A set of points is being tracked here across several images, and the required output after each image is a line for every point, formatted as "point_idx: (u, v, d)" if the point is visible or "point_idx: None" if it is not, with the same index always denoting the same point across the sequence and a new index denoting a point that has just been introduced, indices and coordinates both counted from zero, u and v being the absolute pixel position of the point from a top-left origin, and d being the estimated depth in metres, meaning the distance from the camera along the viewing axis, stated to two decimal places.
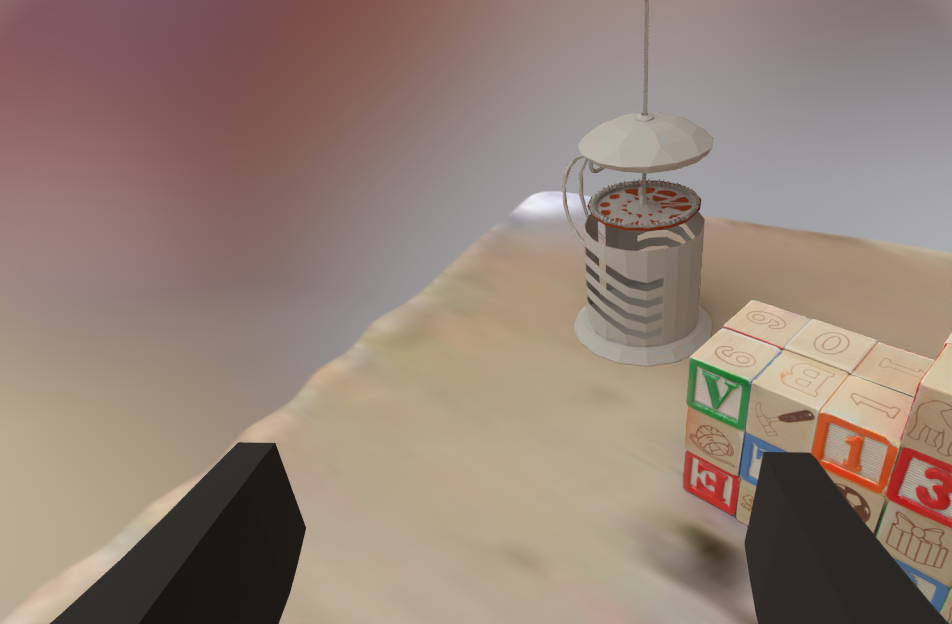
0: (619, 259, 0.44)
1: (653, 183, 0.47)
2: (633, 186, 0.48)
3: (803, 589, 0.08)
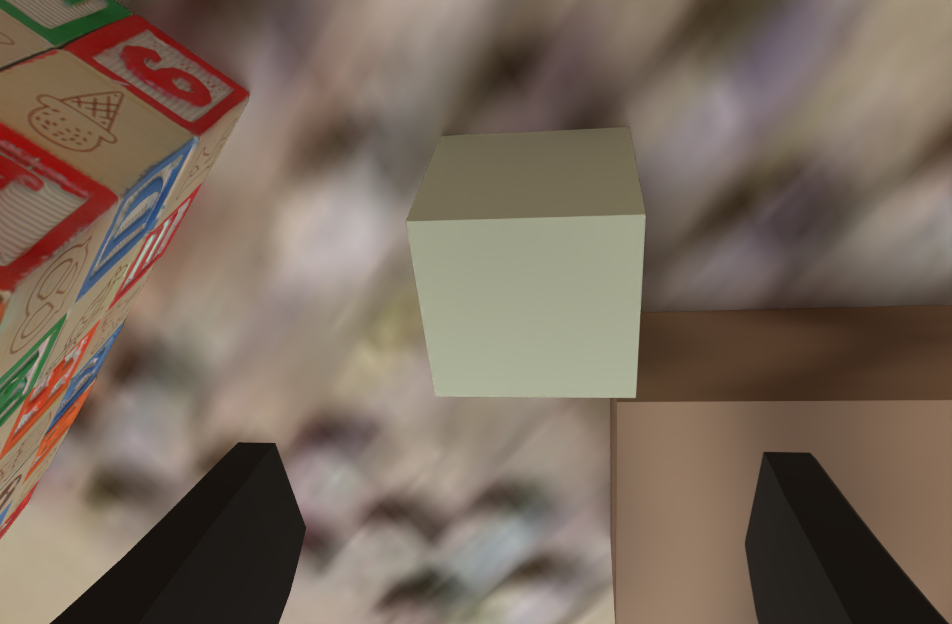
0: None
1: None
2: None
3: (803, 588, 0.08)
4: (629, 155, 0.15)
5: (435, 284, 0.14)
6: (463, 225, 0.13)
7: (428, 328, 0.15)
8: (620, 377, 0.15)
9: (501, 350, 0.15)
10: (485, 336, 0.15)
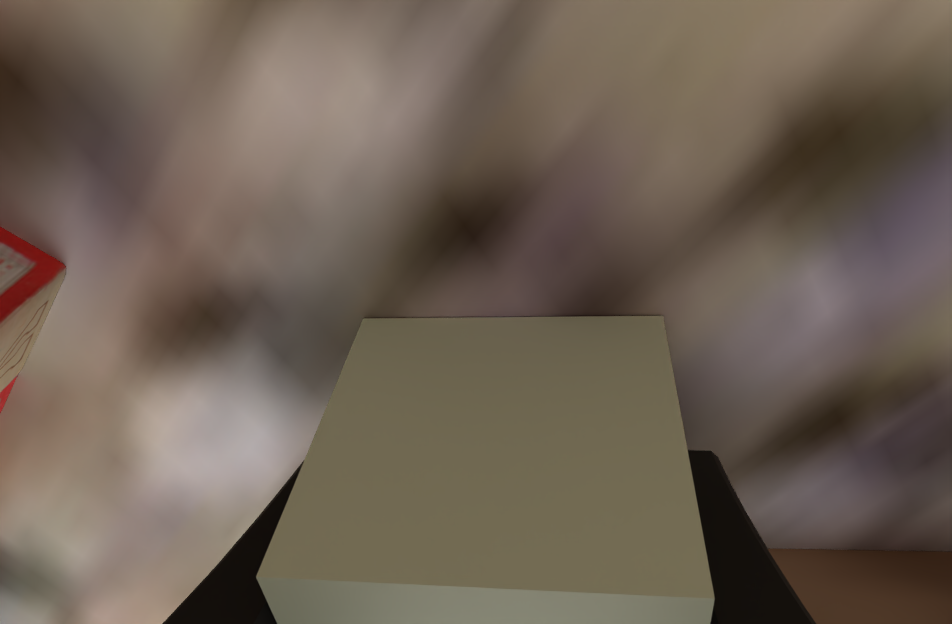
0: None
1: None
2: None
3: None
4: (668, 397, 0.09)
5: None
6: (364, 588, 0.07)
7: None
8: None
9: None
10: None
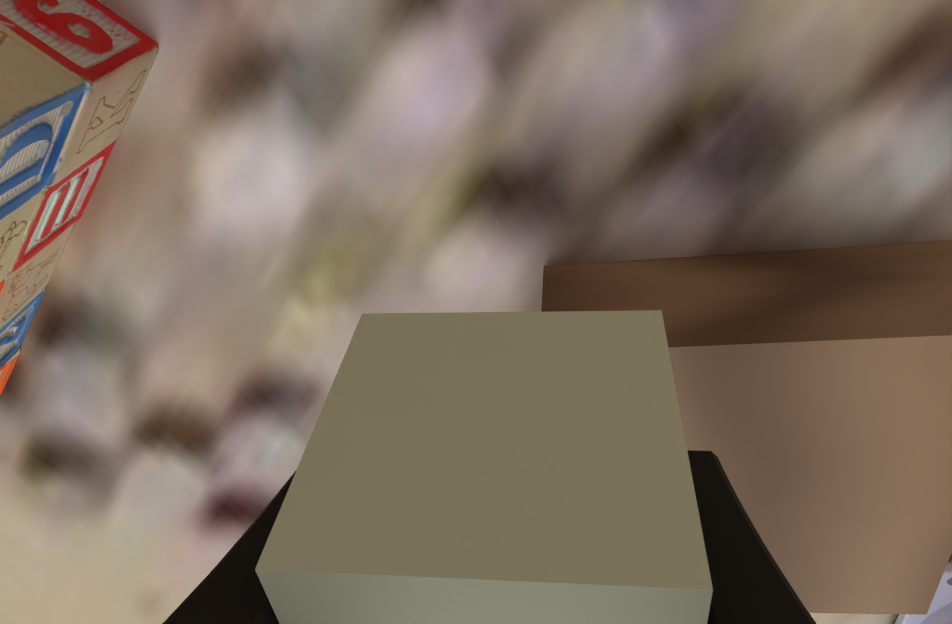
0: None
1: None
2: None
3: None
4: (667, 391, 0.09)
5: None
6: (363, 581, 0.07)
7: None
8: None
9: None
10: None
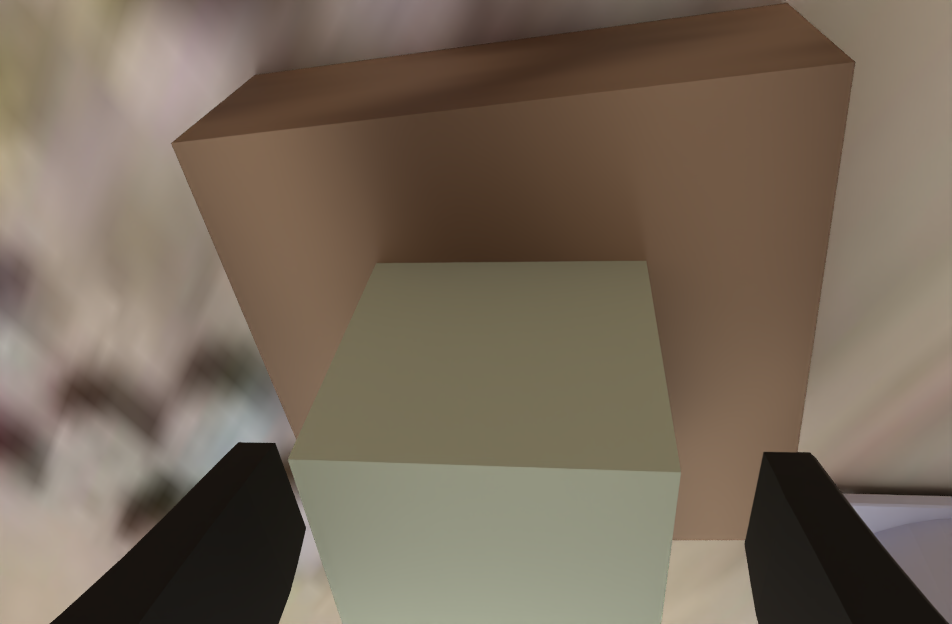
0: None
1: None
2: None
3: (803, 589, 0.08)
4: (648, 324, 0.10)
5: (344, 539, 0.09)
6: (381, 468, 0.08)
7: (338, 588, 0.10)
8: None
9: (448, 620, 0.10)
10: (424, 602, 0.10)
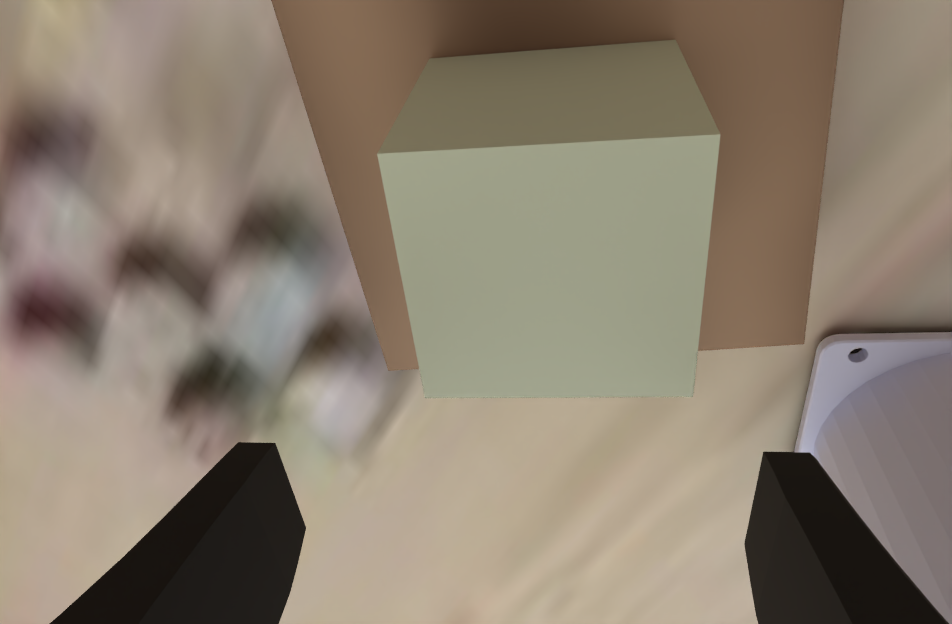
0: None
1: None
2: None
3: (804, 588, 0.08)
4: (682, 69, 0.11)
5: (422, 246, 0.10)
6: (458, 157, 0.09)
7: (413, 307, 0.11)
8: (672, 370, 0.11)
9: (512, 335, 0.11)
10: (490, 315, 0.11)
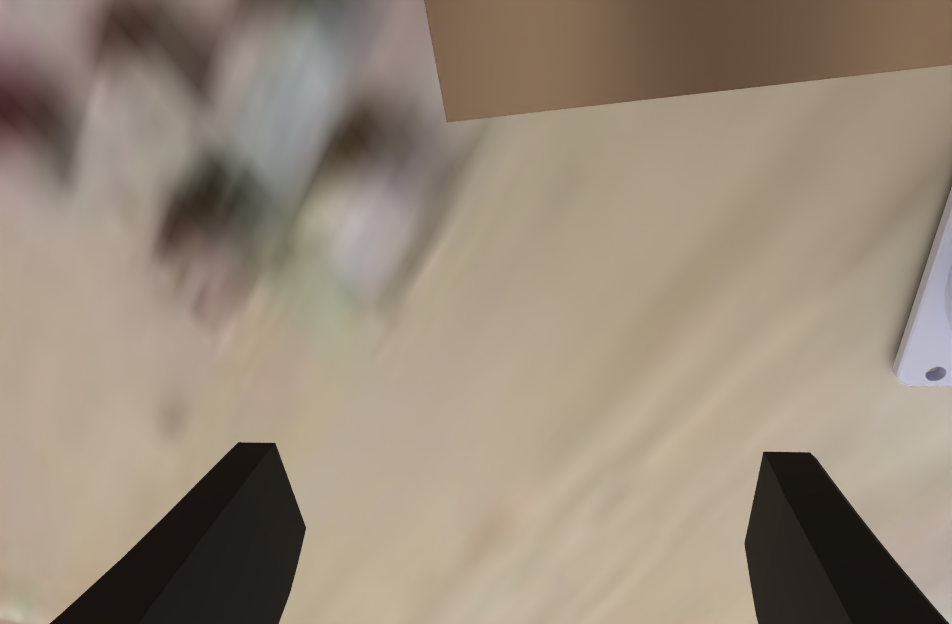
0: None
1: None
2: None
3: (803, 588, 0.08)
4: None
5: None
6: None
7: None
8: None
9: None
10: None
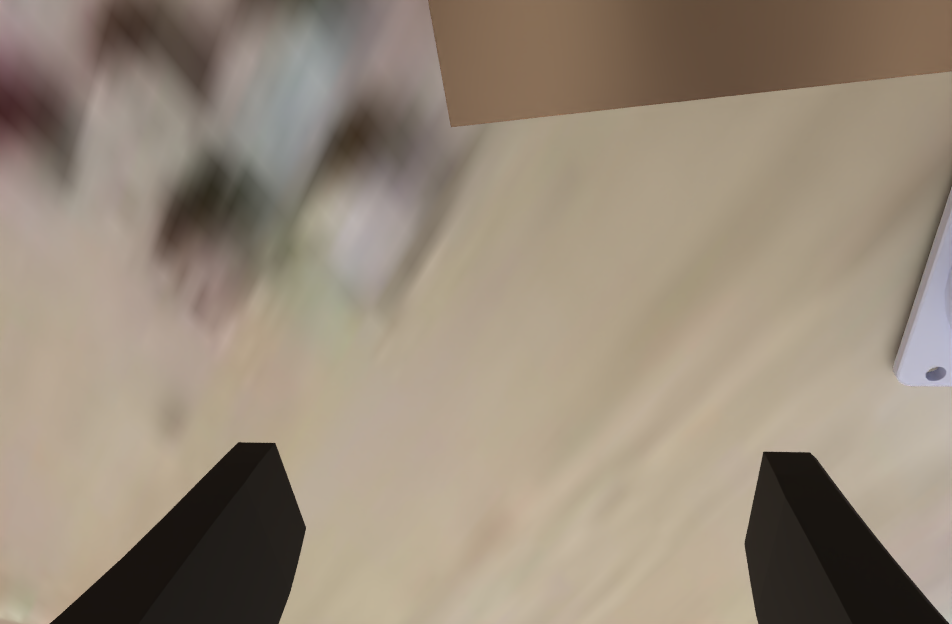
0: None
1: None
2: None
3: (803, 588, 0.08)
4: None
5: None
6: None
7: None
8: None
9: None
10: None
